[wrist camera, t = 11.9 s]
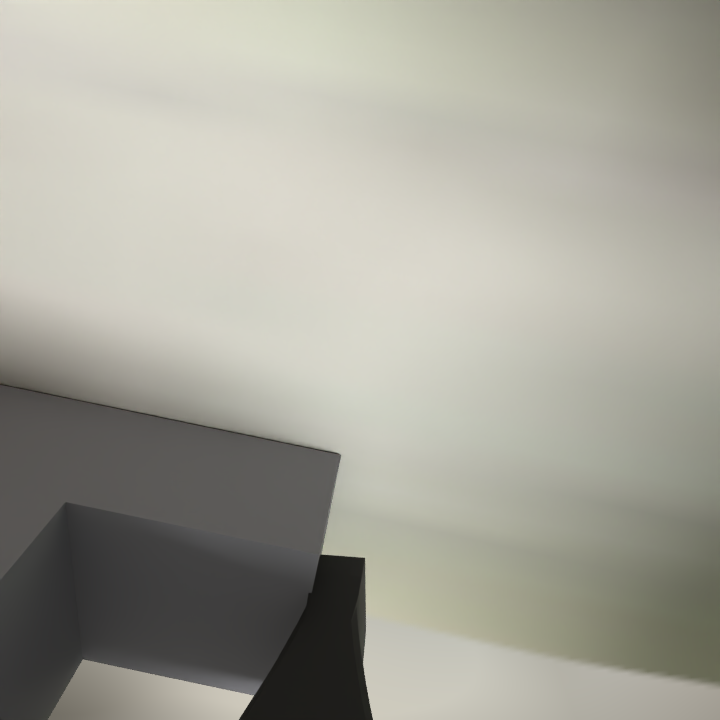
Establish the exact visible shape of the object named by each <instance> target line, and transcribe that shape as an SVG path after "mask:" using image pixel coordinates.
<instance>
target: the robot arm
mask: <svg viewBox="0 0 720 720" xmlns="http://www.w3.org/2000/svg"><path fill="white" fill-rule="evenodd" d="M365 633H366V603H365V558H358V557H345V556H332V555H320V557H319V562H318V566H317V571H316V575H315V580H314V584H313V589H312V593H308V599H307V605H306V607H305V609H304V611H303V613H302V615H301V617H300V619H299V621H298V623H297V625H296V627H295V628H294V630H293V632H292V634H291V635H290V637H289V639H288V641H287V642H286V644H285V646H284V648H283V650H282V651H281V653H280V655H279V657H278V658H277V660H276V662H275V663H274V665H273V667H272V669H271V670H270V672H269V673H268V675H267V677H266V678H265V680H264V681H263V683H262V684H261V686H260V688H259V689H258V691H257V692H256V694H255V695H254V697H253V699H252V700H251V702H250V703H249V705H248V706H247V708H246V710H245V711H244V713H243V714H242V716H241V717H240V719H239V720H373V718H372V713H371V708H370V704H369V698H368V692H367V687H366V681H365V675H364V668H363V656H364V646H365Z"/></svg>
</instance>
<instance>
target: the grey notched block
mask: <svg viewBox="0 0 720 720" xmlns="http://www.w3.org/2000/svg"><path fill="white" fill-rule="evenodd" d="M340 457H341V455H339V454H334V453H329V452H324V451H319V450H314V449H310V448H305V447H300V446H295V445H290V444H285V443H281V442H276V441H271V440H266V439H261V438H256V437H252V436H247V435H242V434H237V433H232V432H227V431H222V430H218V429H213V428H208V427H203V426H198V425H193V424H189V423H184V422H179V421H174V420H169V419H164V418H159V417H155V416H150V415H145V414H140V413H135V412H130V411H126V410H121V409H116V408H111V407H106V406H101V405H97V404H92V403H87V402H82V401H77V400H72V399H67V398H63V397H58V396H53V395H48V394H43V393H38V392H34V391H29V390H24V389H19V388H14V387H9V386H5V385H0V720H48V718H49V716H50V715H51V713H52V711H53V709H54V708H55V706H56V704H57V703H58V701H59V699H60V697H61V696H62V694H63V692H64V691H65V689H66V687H67V685H68V684H69V682H70V680H71V678H72V677H73V675H74V673H75V672H76V670H77V668H78V666H79V665H80V663H81V661H82V660H83V659H85V660H90V661H94V662H99V663H104V664H108V665H113V666H117V667H122V668H127V669H132V670H137V671H141V672H146V673H150V674H155V675H160V676H165V677H169V678H174V679H179V680H184V681H188V682H193V683H198V684H202V685H207V686H212V687H217V688H221V689H226V690H231V691H236V692H240V693H245V694H250V695H255V694H256V692H257V691H258V689H259V688H260V686H261V684H262V683H263V681H264V680H265V678H266V677H267V675H268V673H269V672H270V670H271V669H272V667H273V665H274V663H275V662H276V660H277V658H278V657H279V655H280V653H281V651H282V650H283V648H284V646H285V644H286V642H287V641H288V639H289V637H290V635H291V634H292V632H293V630H294V628H295V627H296V625H297V623H298V621H299V619H300V617H301V615H302V613H303V611H304V609H305V607H306V605H307V599H308V593H312V589H313V584H314V580H315V575H316V571H317V566H318V562H319V557H320V555H321V553H322V548H323V543H324V538H325V533H326V528H327V523H328V518H329V513H330V508H331V503H332V497H333V492H334V487H335V482H336V477H337V472H338V467H339V462H340Z"/></svg>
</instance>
